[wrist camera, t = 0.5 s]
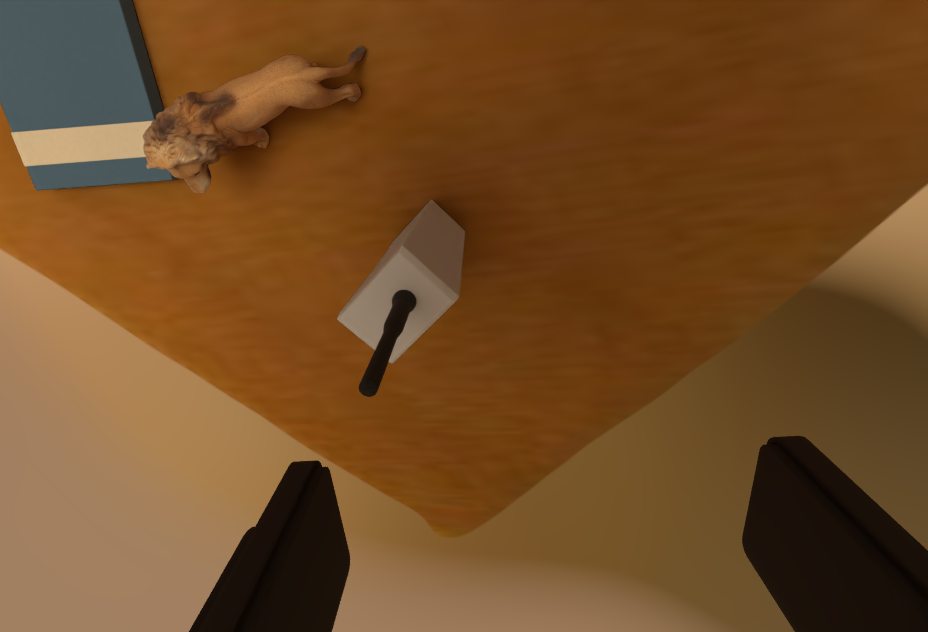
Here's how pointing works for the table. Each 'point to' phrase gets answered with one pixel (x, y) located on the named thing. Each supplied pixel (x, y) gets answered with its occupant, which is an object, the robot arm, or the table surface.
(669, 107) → the table surface
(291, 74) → the lion figurine
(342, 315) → the vintage mobile phone
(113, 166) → the towel
